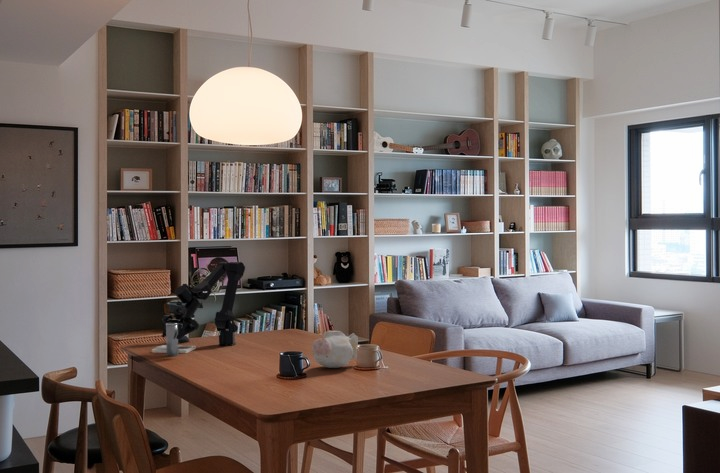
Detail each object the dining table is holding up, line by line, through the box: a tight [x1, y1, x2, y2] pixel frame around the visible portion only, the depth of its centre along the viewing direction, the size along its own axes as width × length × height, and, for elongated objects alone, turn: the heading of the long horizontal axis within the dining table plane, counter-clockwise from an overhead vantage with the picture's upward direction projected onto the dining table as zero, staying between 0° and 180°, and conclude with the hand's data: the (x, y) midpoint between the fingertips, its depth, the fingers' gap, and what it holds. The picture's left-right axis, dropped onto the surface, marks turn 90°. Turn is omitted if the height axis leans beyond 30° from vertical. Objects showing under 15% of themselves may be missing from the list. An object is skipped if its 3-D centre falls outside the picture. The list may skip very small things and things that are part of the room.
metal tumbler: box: [165, 322, 179, 357], centre depth 337 cm, size 5×5×14 cm
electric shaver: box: [163, 299, 190, 344], centre depth 374 cm, size 9×12×20 cm
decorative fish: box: [311, 330, 359, 369], centre depth 304 cm, size 16×19×15 cm
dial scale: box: [151, 344, 197, 354], centre depth 350 cm, size 16×12×2 cm
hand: (169, 337), depth 336 cm, fingers open, 9 cm apart
